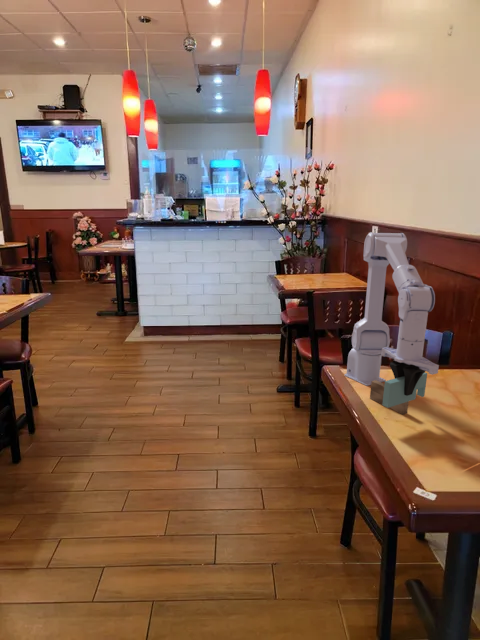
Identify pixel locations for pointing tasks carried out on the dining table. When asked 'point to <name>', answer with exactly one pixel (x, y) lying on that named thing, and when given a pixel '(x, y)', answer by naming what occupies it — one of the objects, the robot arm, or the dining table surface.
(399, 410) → the walnut slotted plate
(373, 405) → the dining table surface
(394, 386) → the teal slotted plate
